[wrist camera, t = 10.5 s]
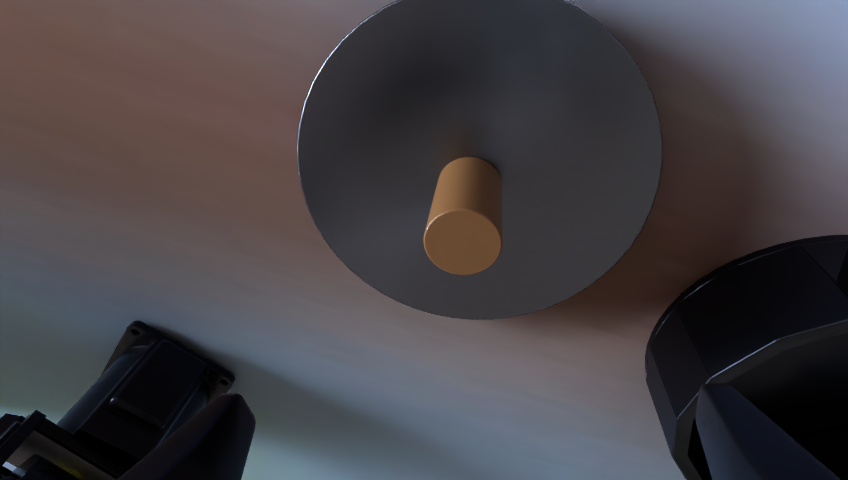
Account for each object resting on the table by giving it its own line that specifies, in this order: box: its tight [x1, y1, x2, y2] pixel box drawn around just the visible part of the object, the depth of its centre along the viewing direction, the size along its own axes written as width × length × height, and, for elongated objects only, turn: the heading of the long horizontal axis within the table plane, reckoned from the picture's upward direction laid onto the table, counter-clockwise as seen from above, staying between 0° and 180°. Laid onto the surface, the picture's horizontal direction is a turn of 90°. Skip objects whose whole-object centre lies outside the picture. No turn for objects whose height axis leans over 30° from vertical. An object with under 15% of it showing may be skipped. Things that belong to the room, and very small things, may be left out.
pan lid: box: [297, 0, 662, 319], centre depth 16 cm, size 13×13×5 cm
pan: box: [645, 235, 848, 480], centre depth 19 cm, size 12×18×4 cm
